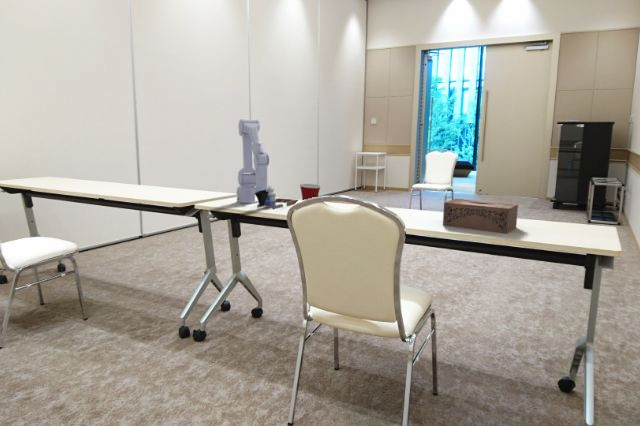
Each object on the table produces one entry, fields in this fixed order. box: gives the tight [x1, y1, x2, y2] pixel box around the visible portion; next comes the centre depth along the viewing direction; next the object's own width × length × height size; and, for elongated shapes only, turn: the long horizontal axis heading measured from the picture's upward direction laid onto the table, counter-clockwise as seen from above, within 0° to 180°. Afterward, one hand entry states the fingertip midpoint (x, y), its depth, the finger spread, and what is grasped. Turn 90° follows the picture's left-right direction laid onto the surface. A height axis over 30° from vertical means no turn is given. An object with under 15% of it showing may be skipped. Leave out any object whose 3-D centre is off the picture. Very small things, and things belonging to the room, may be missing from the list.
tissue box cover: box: [442, 198, 519, 234], centre depth 190 cm, size 26×14×10 cm, turn 55°
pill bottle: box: [264, 186, 277, 208], centre depth 234 cm, size 6×5×10 cm
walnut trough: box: [276, 197, 299, 206], centre depth 246 cm, size 12×10×2 cm
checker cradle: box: [256, 203, 284, 210], centre depth 235 cm, size 10×8×1 cm
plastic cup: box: [299, 183, 322, 201], centre depth 230 cm, size 11×11×12 cm
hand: (261, 206), depth 228 cm, fingers closed
